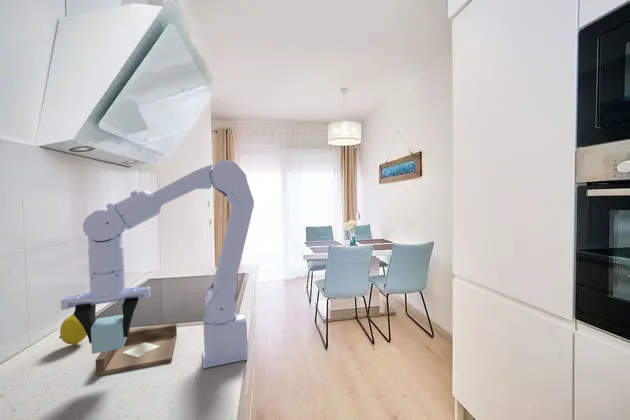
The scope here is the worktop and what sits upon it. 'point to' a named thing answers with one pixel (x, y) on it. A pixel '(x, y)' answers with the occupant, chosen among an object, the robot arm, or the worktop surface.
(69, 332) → the lemon
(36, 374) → the worktop surface
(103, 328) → the cube
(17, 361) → the worktop surface
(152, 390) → the worktop surface
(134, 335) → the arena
